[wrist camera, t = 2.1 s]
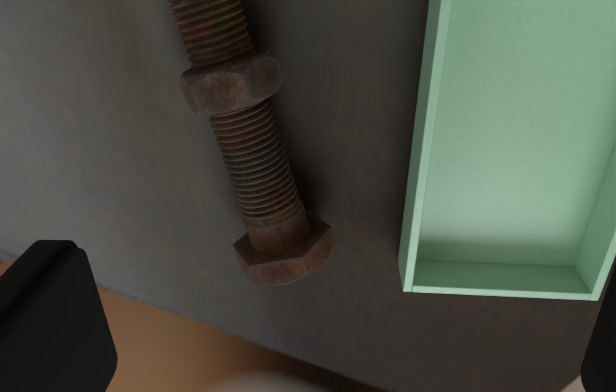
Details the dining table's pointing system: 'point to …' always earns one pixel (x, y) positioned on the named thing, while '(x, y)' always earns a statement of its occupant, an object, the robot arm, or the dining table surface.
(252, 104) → the bolt
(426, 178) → the tray
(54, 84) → the dining table surface
